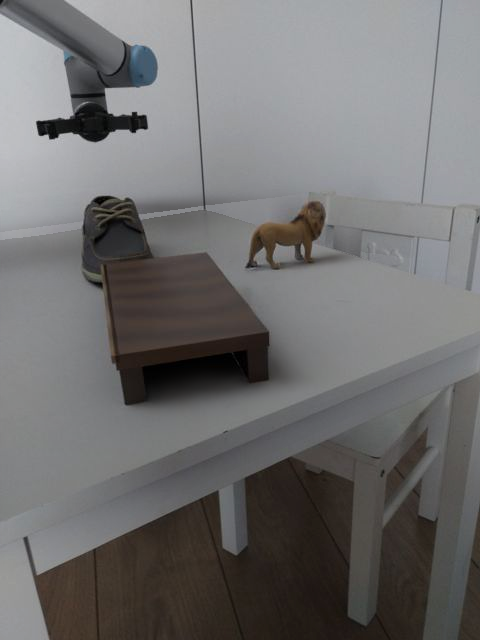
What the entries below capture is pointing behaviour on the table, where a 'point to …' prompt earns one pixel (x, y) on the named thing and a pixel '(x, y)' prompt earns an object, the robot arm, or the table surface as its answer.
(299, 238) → the lion figurine
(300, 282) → the table surface
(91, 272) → the boat shoe
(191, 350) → the shoe shelf
